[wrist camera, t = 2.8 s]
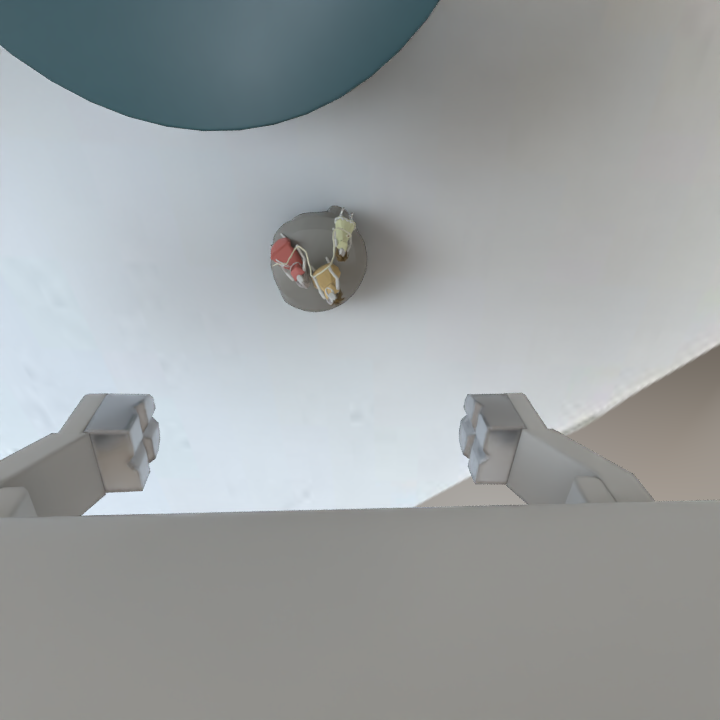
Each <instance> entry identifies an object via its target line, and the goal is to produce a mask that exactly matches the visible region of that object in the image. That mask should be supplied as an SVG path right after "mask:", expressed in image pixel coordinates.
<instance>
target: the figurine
mask: <svg viewBox="0 0 720 720" xmlns="http://www.w3.org/2000/svg"><path fill="white" fill-rule="evenodd" d="M352 217H353V212H352V213H351V215H350V216H349V214H348V213H347V211H346V210H345V209H344V207H343V208H341V207H338V206H331V207H330V208H329V209H328V210H327V212H312V213H303V214H300V215H298V216H296V217H295V218H293V219H292V220H291V221H289V222H287V223H285V224H283V225H282V226H281V227H280V228H279V230H278V231H277V232H276V234H275V236H274V239H273V246H272V245H271V246H270V247H271V269H272V272H273V276H274V279H275V281H276V284H277V286H278V288H279V291H280V292H281V295H282V297H283V299H284V301H285V302H287V303H288V304H290V305H291V306H293V307H295V308H298V309H301V310H304V311H309V312H322V311H327V310H330V309H333V308H335V307H337V306H339V305H341V304H342V303H344V302H345V301H347V300H348V299H349V298H350V297H351V296H352V295H353V294H354V293H355V291H356V290H357V288H358V287H359V286H360V284H361V282H362V280H363V278H364V275H365V272H366V267H367V255H366V248H365V244H364V241H363V239H362V237H361V235H360V234H359V233H358V232H357V229H356V227H357V226H356V224H355V222H354V221H353V220H352Z"/></svg>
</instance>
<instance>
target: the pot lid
mask: <svg viewBox="0 0 720 720" xmlns="http://www.w3.org/2000/svg"><path fill="white" fill-rule="evenodd" d="M439 1H440V0H0V45H1V46H2V47H3V48H5V49H6V50H7V51H8V52H9V53H11V54H12V55H13V56H15V57H16V58H18V59H19V60H21V61H22V62H24V63H25V64H27V65H28V66H30V67H31V68H33V69H34V70H36V71H37V72H39V73H40V74H42V75H43V76H45V77H46V78H47V79H49V80H50V81H52V82H54V83H56V84H58V85H60V86H62V87H63V88H65V89H67V90H69V91H71V92H73V93H75V94H77V95H79V96H80V97H82V98H84V99H86V100H88V101H90V102H92V103H95V104H97V105H100V106H102V107H105V108H107V109H110V110H113V111H115V112H118V113H120V114H123V115H125V116H128V117H131V118H135V119H139V120H143V121H147V122H151V123H155V124H158V125H162V126H166V127H174V128H182V129H191V130H199V131H233V130H245V129H251V128H257V127H263V126H269V125H274V124H278V123H281V122H284V121H287V120H290V119H293V118H296V117H300V116H303V115H306V114H308V113H310V112H312V111H315V110H317V109H319V108H321V107H323V106H325V105H327V104H329V103H331V102H333V101H335V100H337V99H339V98H341V97H342V96H344V95H345V94H347V93H348V92H350V91H351V90H352V89H354V88H355V87H357V86H358V85H360V84H361V83H363V82H364V81H366V80H367V79H369V78H370V77H371V76H372V75H374V74H375V73H376V72H377V71H378V70H379V69H380V68H381V67H382V66H384V65H385V64H386V63H387V62H388V61H389V60H390V59H391V58H392V57H394V56H395V55H396V54H397V53H398V52H399V51H400V50H401V49H402V48H403V47H404V45H405V44H406V43H407V42H408V41H409V40H410V38H411V37H412V36H413V35H414V34H415V33H416V32H417V30H418V29H419V28H420V27H421V26H422V25H423V23H424V22H425V21H426V20H427V19H428V17H429V16H430V14H431V13H432V11H433V10H434V8H435V7H436V5H437V4H438V2H439Z"/></svg>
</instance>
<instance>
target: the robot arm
mask: <svg viewBox="0 0 720 720" xmlns="http://www.w3.org/2000/svg"><path fill="white" fill-rule="evenodd" d="M464 409H465V412H466V414H467V415H466V416H465V417H464V418H463V419H462V420H461V422H460V428H459V442H460V447H461V450H462V453H463V455H465V456H466V457H467V458H469V463H468V468H469V471H470V473H471V476H472V478H473V480H474V483H475V484H507V487H508V488H510V489H511V490H512V491H513V492H514V493H515V494H516V495H517V496H519V497H520V498H521V499H522V500H523V501H524V502H526V503H527V504H528V505H492V506H453V507H412V508H373V509H333V510H292V511H252V512H212V513H172V514H132V515H92V516H81V515H82V514H84V513H85V512H86V511H87V510H88V509H89V508H91V507H92V506H93V505H94V504H95V503H96V502H98V501H99V500H100V499H101V498H102V497H103V496H105V495H106V493H109V492H130V491H143V488H144V486H145V483H146V481H147V478H148V476H149V473H150V468H149V463H150V462H152V461H153V460H154V459H155V458H156V456H157V453H158V450H159V443H160V430H159V424H158V422H157V421H156V420H155V419H154V418H153V417H152V415H153V413H154V411H155V404H154V399H153V397H152V396H151V395H150V394H107V393H99V394H87V395H85V396H84V397H83V398H82V399H81V401H80V402H79V404H78V405H77V407H76V408H75V410H74V411H73V412H72V414H71V415H70V417H69V418H68V420H67V421H66V422H65V424H64V425H63V427H62V428H61V430H60V431H59V432H58V433H51V434H49V435H47V436H45V437H44V438H42V439H40V440H38V441H36V442H34V443H32V444H30V445H28V446H26V447H25V448H23V449H21V450H19V451H17V452H15V453H13V454H11V455H9V456H8V457H6V458H4V459H2V460H0V720H720V500H696V501H655V500H654V499H653V498H652V496H651V495H650V494H649V493H648V491H647V490H646V489H645V488H644V486H643V485H642V484H641V483H640V481H639V480H638V479H637V477H636V476H635V475H634V474H633V473H631V472H629V471H627V470H626V469H624V468H622V467H620V466H618V465H616V464H615V463H613V462H611V461H610V460H608V459H606V458H604V457H602V456H601V455H598V454H597V453H595V452H594V451H592V450H590V449H588V448H586V447H585V446H583V445H581V444H579V443H577V442H575V441H574V440H572V439H570V438H568V437H567V436H565V435H563V434H561V433H560V432H558V431H556V430H554V429H547V427H546V426H545V424H544V423H543V421H542V420H541V418H540V416H539V415H538V413H537V412H536V410H535V409H534V407H533V406H532V404H531V403H530V401H529V400H528V398H527V397H526V395H525V394H523V393H504V394H467V396H466V399H465V402H464Z"/></svg>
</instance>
